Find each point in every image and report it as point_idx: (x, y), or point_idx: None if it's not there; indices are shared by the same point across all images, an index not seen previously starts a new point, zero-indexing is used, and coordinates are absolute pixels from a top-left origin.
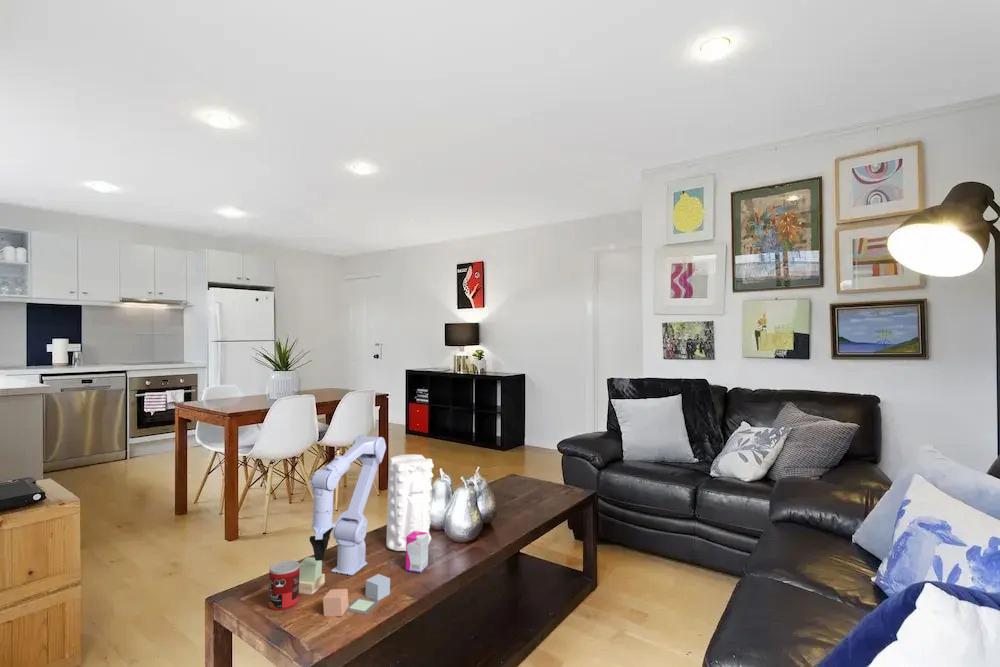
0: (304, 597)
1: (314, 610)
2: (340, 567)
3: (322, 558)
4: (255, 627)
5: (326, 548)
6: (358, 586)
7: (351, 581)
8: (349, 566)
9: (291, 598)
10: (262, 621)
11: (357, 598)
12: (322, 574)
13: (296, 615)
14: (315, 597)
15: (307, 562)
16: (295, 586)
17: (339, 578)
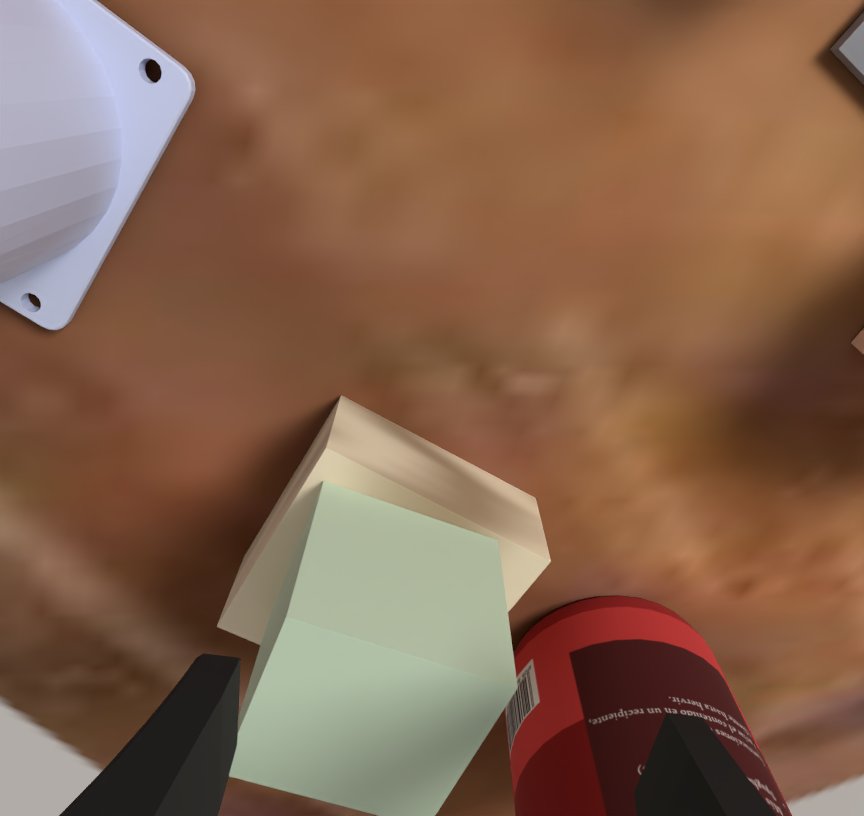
0: (552, 551)
1: (823, 480)
2: (69, 241)
3: (718, 750)
4: (835, 786)
5: (227, 678)
6: (512, 13)
7: (348, 99)
8: (85, 119)
9: (732, 696)
10: (782, 761)
11: (859, 57)
12: (336, 471)
13: (824, 595)
14: (589, 472)
15: (397, 762)
16: (750, 757)
17: (238, 241)
